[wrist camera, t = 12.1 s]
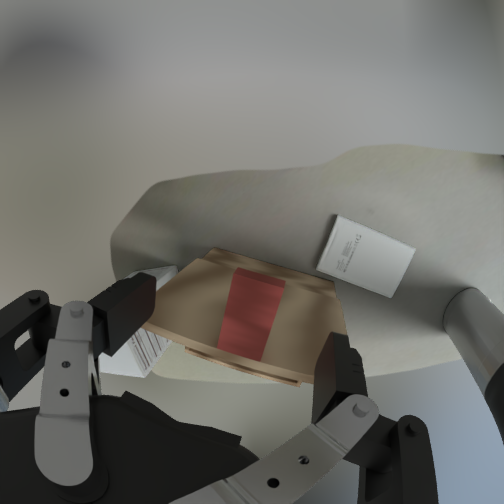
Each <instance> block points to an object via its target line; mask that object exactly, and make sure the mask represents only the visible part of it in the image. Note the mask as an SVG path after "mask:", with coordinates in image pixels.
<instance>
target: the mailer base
mask: <svg viewBox="0 0 504 504" xmlns="http://www.w3.org/2000/svg"><path fill="white" fill-rule="evenodd" d="M202 260H206V261H209V262H212V263H215V264H219V265H222V266H225V267H229V268H232V269H235V270H236V269H237V268H238V267H240V268H243V269H246V270H250V271H253V272H257V273H260V274H264V275H267V276H270V277H274V278H277V279H281V280H284V281H286V282H285V284H287V285H290V286H294V287H297V288H301V289H304V290H308V291H311V292H315V293H318V294H322V295H326V296H329V297H333V298H336V292H335V286H334V282H333V281H330V280H326V279H323V278H319V277H316V276H312V275H309V274H305V273H302V272H298V271H295V270H291V269H288V268H284V267H281V266H277V265H274V264H270V263H267V262H263V261H260V260H256V259H253V258H249V257H246V256H243V255H239V254H236V253H232V252H229V251H225V250H222V249H218V248H215V247H214V248H213V249H212V250H211V251H210V252H208V253H207V254H206V255H205V256H204V257H203V258H202ZM336 299H337V298H336ZM185 352H186V353H189V354H192V355H195V356H197V357H200V358H203V359H206V360H208V361H211V362H214V363H217V364H220V365H223V366H226V367H229V368H232V369H236V370H239V371H242V372H245V373H249V374H252V375H255V376H259V377H262V378H266V379H270V380H273V381H277V382H281V383H285V384H289V385H293V386H297V387H300V385H301V383H302V382H301V381H297V380H293V379H289V378H285V377H281V376H277V375H274V374H270V373H266V372H263V371H259V370H256V369H252V368H249V367H246V366H242V365H239V364H236V363H233V362H230V361H227V360H224V359H221V358H218V357H215V356H212V355H209V354H206V353H203V352H200V351H198V350H195V349H192V348H189V347H187V346H185Z"/></svg>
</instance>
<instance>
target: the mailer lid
mask: <svg viewBox="0 0 504 504" xmlns="http://www.w3.org/2000/svg"><path fill="white" fill-rule="evenodd" d="M285 282H286V281H284V280H281V279H277V278H274V277H270V276H267V275H264V274H260V273H257V272H253V271H250V270H246V269H243V268H240V267H238V268H237V269H236V270H235V269H232V268H229V267H225V266H222V265H219V264H215V263H212V262H209V261H206V260H202V259H199V258H196V259H195V260H194V261H193V262H191V263H190V264H189V265H188V266H186V267H185V268H184V269H183V270H181V271H180V272H179V273H178V274H177V275H175V276H174V277H173V278H172V279H170V280H169V281H168V282H167V283H165V284H164V285H163V286H162V287H161V288H159V289H158V290H157V291H156V299H155V309H154V312H153V314H152V316H151V317H150V318H149V319H148V320H147V321H146V322H145V323H144V324H143V325H142V326H141V328H142V329H145V330H147V331H149V332H152V333H154V334H156V335H159V336H161V337H164V338H166V339H169V340H171V341H174V342H176V343H179V344H182V345H184V346H187V347H189V348H192V349H195V350H198V351H200V352H203V353H206V354H209V355H212V356H215V357H218V358H221V359H224V360H227V361H230V362H233V363H236V364H239V365H242V366H246V367H249V368H252V369H256V370H259V371H263V372H266V373H270V374H274V375H277V376H281V377H285V378H289V379H293V380H297V381H301V382H305V383H310V384H314V371H315V365H316V362H317V359H318V357H319V355H320V353H321V351H322V348H323V346H324V344H325V342H326V340H327V338H328V336H329V334H330V332H331V331H333V332H337V333H341V334H345V335H347V331H346V326H345V321H344V316H343V311H342V307H341V302H340V299H336V298H333V297H329V296H326V295H322V294H318V293H315V292H311V291H308V290H304V289H301V288H297V287H294V286H290V285H287V284H285Z"/></svg>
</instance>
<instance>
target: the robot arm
mask: <svg viewBox="0 0 504 504" xmlns="http://www.w3.org/2000/svg"><path fill="white" fill-rule="evenodd" d="M156 284H157V280H156V277H155V276H152V275H150V274H147V273H144V272H139V273H137V274H136V275H134V276H133V277H131V278H126V279H122V280H119V281H117V282H116V283H114V284H113V285H112V286H111V287H108V288H107V289H106V290H105V291H103V292H101V293H100V294H98V295H97V296H95V297H94V298H93V299H91V300H90V301H88V302H87V303H86V302H84V301H71V302H68V303H66V304H65V305H64V306H63V307H60V306H56V305H52V304H50V302H49V296H48V294H47V293H46V292H44V291H41V290H32V291H29V292H26V293H25V294H23V295H22V296H20V297H19V298H17V299H16V300H14V301H13V302H11V303H10V304H8V305H7V306H5V307H4V308H2V309H1V310H0V504H292V503H293V502H295V501H296V500H297V499H298V498H300V497H301V496H302V495H303V494H305V493H306V492H307V491H308V490H309V489H310V488H311V487H313V486H314V485H315V484H316V483H317V482H318V481H319V480H321V479H322V478H323V477H324V476H325V475H326V474H327V473H328V472H329V471H330V470H331V469H332V468H333V467H334V466H335V465H336V464H337V463H338V462H339V461H340V460H341V459H344V460H347V461H349V462H351V463H354V464H357V465H359V466H360V471H359V488H358V501H357V504H439V503H438V492H437V483H436V475H435V468H434V461H433V455H432V450H431V444H430V439H429V434H428V429H427V427H426V425H425V423H424V422H423V421H422V420H421V419H419V418H418V417H416V416H413V415H405V416H403V417H401V418H400V419H399V421H398V422H396V421H393V420H391V419H389V418H386V417H384V416H382V415H380V414H379V409H378V407H377V405H376V404H375V402H374V401H372V400H371V399H370V398H368V394H367V387H366V381H365V375H364V369H363V363H362V358H361V356H360V354H359V353H358V351H357V350H356V349H354V348H350V345H349V338H348V335H345V334H341V333H337V332H333V331H331V332H330V334H329V336H328V338H327V340H326V342H325V344H324V346H323V348H322V351H321V353H320V355H319V357H318V359H317V362H316V365H315V371H314V391H313V407H312V422H311V424H310V425H309V426H307V427H306V428H305V429H304V430H302V431H301V432H299V433H298V434H297V435H295V436H294V437H292V438H291V439H290V440H288V441H287V442H285V443H284V444H283V445H281V446H280V447H279V448H277V449H275V450H274V451H272V452H271V453H269V454H268V455H266V456H265V457H263V458H261V459H259V458H258V457H257V456H256V455H255V454H253V453H252V452H251V451H249V450H248V449H246V448H245V447H243V446H241V445H239V444H240V441H241V438H242V437H241V436H238V435H235V434H231V433H228V432H225V431H222V430H218V429H216V428H213V427H207V426H200V425H194V424H188V423H182V422H178V421H176V420H174V419H173V418H171V417H170V416H169V415H167V414H166V413H164V412H163V411H161V410H160V409H159V408H157V407H156V406H155V405H153V404H152V403H150V402H148V401H146V400H144V399H142V398H140V397H138V396H136V395H134V394H132V393H130V392H128V391H125V392H124V394H123V395H122V396H121V397H118V396H112V395H102V393H101V381H100V360H99V355H100V354H101V353H102V352H103V353H104V354H106V355H108V356H110V357H112V356H113V355H114V354H115V353H116V352H117V351H118V350H119V349H120V348H121V347H122V346H123V345H124V344H125V343H126V342H127V341H128V340H129V339H130V338H131V337H132V336H133V335H134V334H135V333H136V332H137V331H138V330H139V329H140V328H141V326H142V325H143V324H144V323H145V322H146V321H147V320H148V319H149V318H150V317H151V316H152V314H153V312H154V309H155V299H156ZM443 325H444V328H445V330H446V332H447V334H448V335H449V337H450V338H451V340H452V341H453V343H454V345H455V347H456V348H457V350H458V351H459V353H460V355H461V356H462V358H463V360H464V362H465V363H466V365H467V367H468V368H469V370H470V372H471V374H472V376H473V377H474V379H475V381H476V383H477V385H478V386H479V388H480V390H481V392H482V394H483V396H484V398H485V400H486V403H487V404H488V406H489V408H490V411H491V412H492V414H493V417H494V419H495V422H496V424H497V426H498V429H499V432H500V434H501V437H502V441H503V444H504V314H503V313H502V312H501V311H500V310H499V309H498V308H497V307H496V306H495V305H494V304H493V303H492V302H491V301H490V300H489V299H488V298H487V297H486V296H485V295H484V294H483V293H482V292H481V291H479V290H478V289H475V288H470V289H466V290H464V291H462V292H460V293H459V294H457V295H456V296H455V297H454V298H453V299H452V301H451V302H450V303H449V305H448V307H447V308H446V311H445V314H444V318H443ZM27 330H28V331H29V335H30V339H28V340H27V341H26V342H25V343H24V344H22V345H21V346H20V347H19V348H18V349H17V350H15V348H14V345H15V341H16V340H17V338H18V337H20V336H21V335H22V334H23V333H24V332H26V331H27ZM43 367H44V374H43V381H42V390H41V401H40V407H33V408H27V409H20V410H13V411H7V409H8V407H9V402H10V401H11V400H12V399H13V398H14V397H15V396H16V395H17V394H18V392H19V391H20V390H21V389H22V388H23V387H24V386H25V385H26V384H27V383H28V382H29V381H30V380H31V379H32V378H33V377H34V376H35V375H36V374H37V373H38V372H39V371H40V370H41V369H42V368H43Z"/></svg>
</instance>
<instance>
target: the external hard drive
mask: <svg viewBox="0 0 504 504" xmlns="http://www.w3.org/2000/svg"><path fill="white" fill-rule="evenodd" d="M415 250H416V249H415V248H414V247H412V246H410V245H408V244H406V243H404V242H401V241H399V240H397V239H395V238H392V237H390V236H388V235H386V234H383V233H381V232H379V231H376V230H374V229H372V228H369V227H367V226H364V225H362V224H360V223H357V222H355V221H352V220H350V219H347V218H345V217H342V216H340V215H337V218H336V220H335V223H334V225H333V228H332V230H331V233H330V235H329V238H328V241H327V243H326V246H325V247H324V250H323V252H322V255H321V257H320V259H319V262H318V264H317V266H316V270H318V271H320V272H323V273H326V274H328V275H331V276H333V277H336V278H339V279H341V280H344V281H346V282H349V283H352V284H354V285H357V286H360V287H362V288H365V289H368V290H370V291H373V292H376V293H378V294H381V295H384V296H386V297H389V298H392V296H393V295H394V293H395V291H396V289H397V287H398V285H399V283H400V281H401V280H402V278H403V276H404V274H405V272H406V270H407V268H408V266H409V264H410V261H411V259H412V257H413V255H414V253H415Z"/></svg>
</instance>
